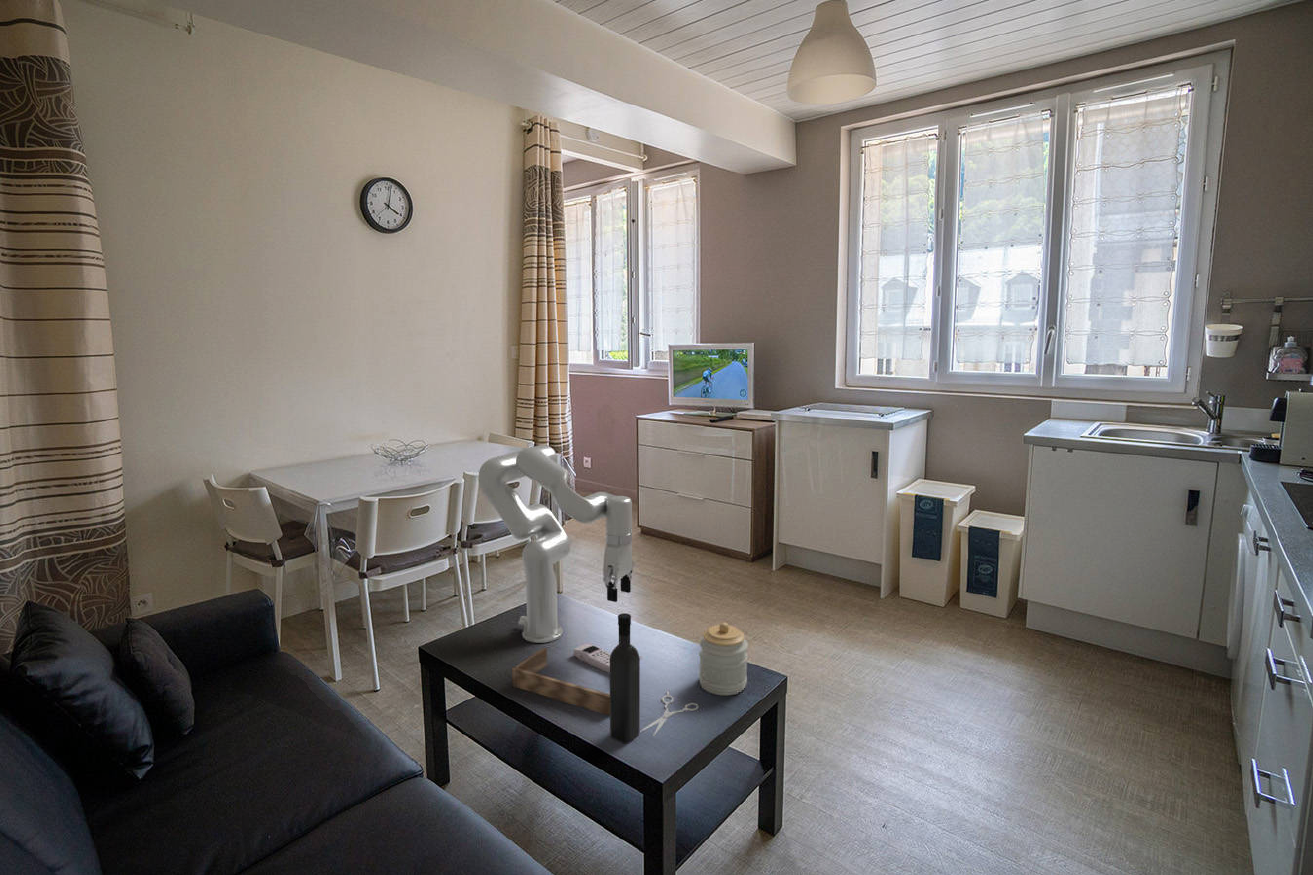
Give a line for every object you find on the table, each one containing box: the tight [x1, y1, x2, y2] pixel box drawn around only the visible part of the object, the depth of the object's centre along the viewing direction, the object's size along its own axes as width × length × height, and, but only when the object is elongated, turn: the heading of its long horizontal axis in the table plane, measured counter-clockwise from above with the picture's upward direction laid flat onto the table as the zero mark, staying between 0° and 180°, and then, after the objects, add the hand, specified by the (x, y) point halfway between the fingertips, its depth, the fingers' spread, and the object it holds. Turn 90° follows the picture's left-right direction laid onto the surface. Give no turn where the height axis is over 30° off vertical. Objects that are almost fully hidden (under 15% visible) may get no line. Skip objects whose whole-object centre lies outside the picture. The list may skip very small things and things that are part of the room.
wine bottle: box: [609, 613, 641, 744], centre depth 158 cm, size 6×6×30 cm
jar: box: [698, 622, 749, 696], centre depth 182 cm, size 13×13×18 cm
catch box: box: [511, 647, 610, 716], centre depth 181 cm, size 31×14×5 cm, turn 63°
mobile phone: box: [573, 643, 643, 674], centre depth 194 cm, size 6×6×25 cm
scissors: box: [639, 691, 699, 738], centre depth 168 cm, size 11×1×20 cm
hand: (619, 595), depth 199 cm, fingers open, 7 cm apart
